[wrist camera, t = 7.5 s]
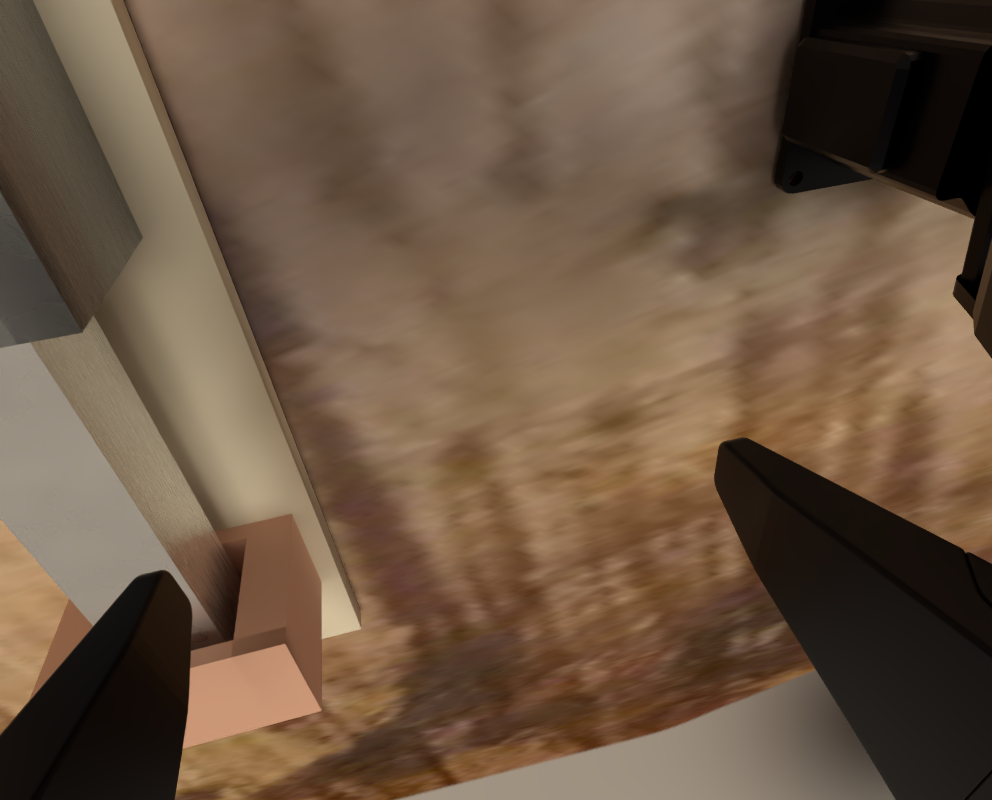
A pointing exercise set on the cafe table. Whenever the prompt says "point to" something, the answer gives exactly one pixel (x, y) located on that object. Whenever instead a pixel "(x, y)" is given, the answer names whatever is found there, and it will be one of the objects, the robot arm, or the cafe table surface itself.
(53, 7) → the base board
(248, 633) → the terracotta socket
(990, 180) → the robot arm
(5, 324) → the grey sleeve
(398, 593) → the cafe table surface
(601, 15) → the cafe table surface
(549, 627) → the cafe table surface
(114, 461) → the silver rectangular bar
